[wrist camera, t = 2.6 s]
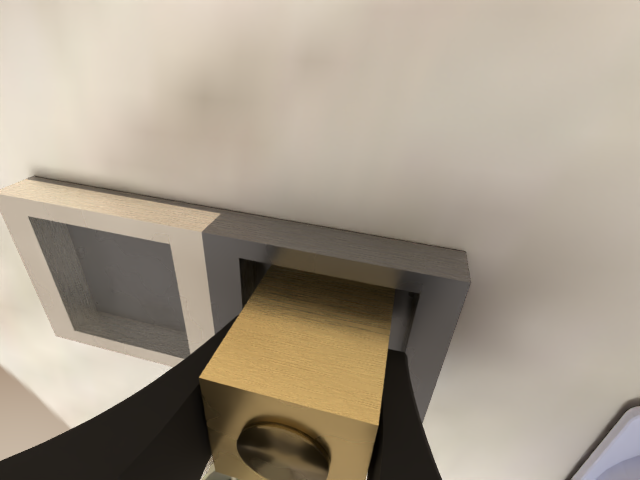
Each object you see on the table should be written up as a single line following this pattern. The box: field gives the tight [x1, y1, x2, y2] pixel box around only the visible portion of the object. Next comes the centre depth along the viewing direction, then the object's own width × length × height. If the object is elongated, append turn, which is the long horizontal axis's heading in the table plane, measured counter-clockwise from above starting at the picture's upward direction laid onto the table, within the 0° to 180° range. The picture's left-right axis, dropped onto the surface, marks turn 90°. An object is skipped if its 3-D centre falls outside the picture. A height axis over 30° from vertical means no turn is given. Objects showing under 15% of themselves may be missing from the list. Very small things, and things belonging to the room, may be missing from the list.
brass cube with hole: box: [199, 264, 395, 480], centre depth 11 cm, size 4×4×5 cm
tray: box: [0, 176, 471, 423], centre depth 14 cm, size 16×7×2 cm, turn 88°
